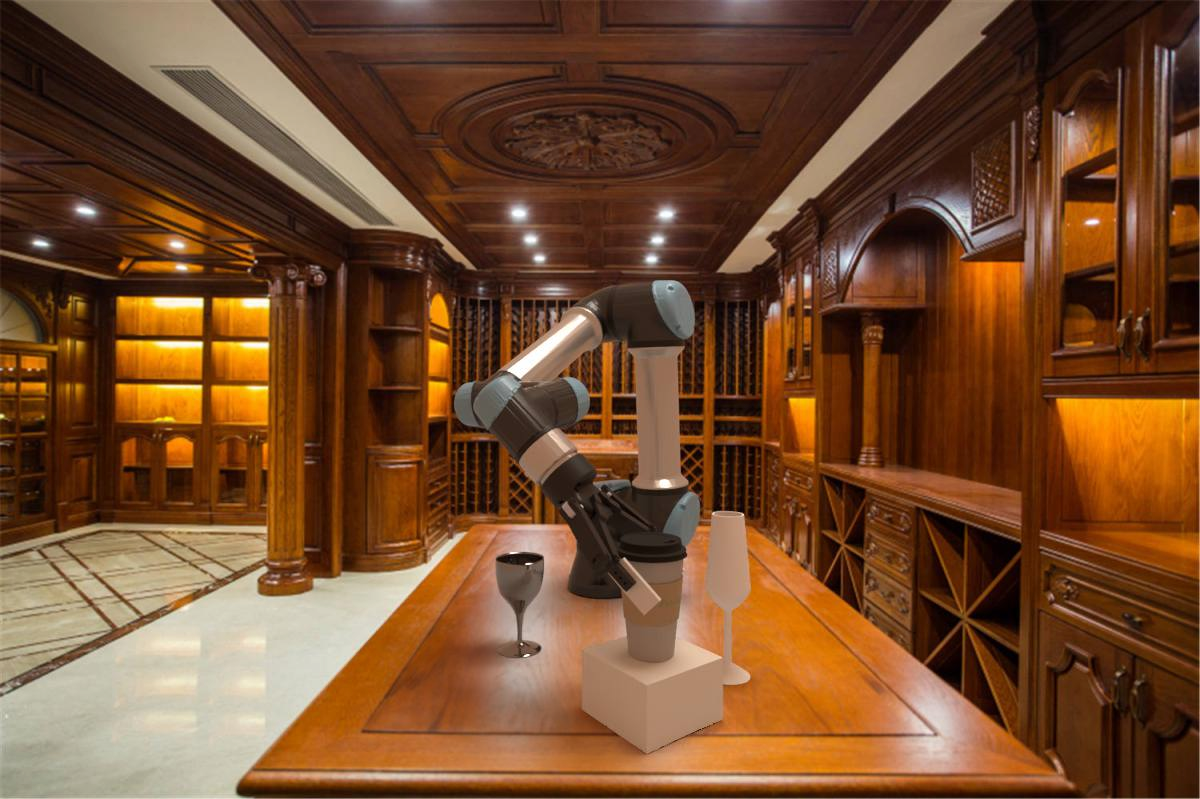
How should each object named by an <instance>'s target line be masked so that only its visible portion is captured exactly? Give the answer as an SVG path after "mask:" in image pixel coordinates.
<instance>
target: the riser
mask: <svg viewBox="0 0 1200 799" xmlns="http://www.w3.org/2000/svg"><path fill="white" fill-rule="evenodd" d="M723 661H724V656H723V657H722V656H720V655H719V654H716V653H713V652H712V651H709V650H707V649H705V648H702V647H700V646H698V645H696V644H694V643H691V642H689V641H686V640H684V639H682V638H680V637H677V636H676V639H675V648H674V655H673V657H672V658H670V659H669V660H667V661H664V662H659V663H649V662H643V661H639V660H636V659H634V658H632V657H631V656H630V655H629V651H628V642H627V635H626V636H623V637H619V638H615V639H612V640H609V641H606V642H603V643H598V644H595V645H592V646H589V647H586V648H582V649H581V710H582V711H583V712H585V713H586V714H587V715H589V716H591V717H592V718H593V719H595V720H597V721H598V722H599V723H600V724H602V725H603V726H605V727H606V726H607V727H606V728H608V729H610V730H611V731H612V732H614V733H615V734H617V735H618V736H619V737H621V738H622V739H623V740H625V741H626V742H628V743H629V744H631V745H632V746H634V747H635V746H636V748H637V749H639V750H640V751H641V750H642V751H641V752H643V753H644V754H646V755H648V753H649V754H650V752H651V751H653V752H655V751H657V750H659V748H660V747H662V746H664V747H666V746H668V745H670V744H669V743H671V742H673V741H675V740H677V739H679V738H681V737H683V736H685V735H688V734H690V733H692V732H694V731H696V730H698V729H701V730H703V729H702V728H704V727H706V728H708V727H710V726H713V725H714V724H713V723H715V724H717V723H719V722H721V721H723V720H724V684H723ZM716 722H717V723H716ZM709 725H710V726H709ZM707 726H708V727H707ZM704 729H705V728H704ZM690 735H691V734H690ZM688 736H689V735H688ZM679 740H680V739H679ZM677 741H678V740H677ZM675 742H676V741H675ZM673 743H674V742H673ZM667 744H668V745H667ZM671 744H672V743H671ZM665 745H666V746H665ZM662 748H663V747H662ZM660 749H661V748H660ZM654 750H655V751H654ZM651 753H652V752H651Z"/></svg>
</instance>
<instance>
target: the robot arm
mask: <svg viewBox="0 0 1200 799" xmlns="http://www.w3.org/2000/svg"><path fill="white" fill-rule="evenodd" d="M695 316H696V315H695V309H694V305H693V302H692V299H691V296H690V294H689V292H688V290H687V288H686V287H685V286H684V285H683V284H682V283H681V282H679V281H678V280H677V281H676V280H673V279H672V280H669V279H668V280H664V279H663V280H660V279H657V280H652V281H645V282H644V281H642V282H635V283H627V284H626V283H625V284H616V285H615V284H614V285H610V286H606V287H604V288H603V287H602V288H601V289H598V290H596V291H594V292H592V293H591V294H589V295H588V296H586V297H584V298H582V299H580V300H579V301H578V302H576V303H575V304H573V305H572V306H571V307H569V308H568V309H566V310H565V311H564V313H563V314H561V318H560V322H558V323H557V324H556V325H555V326H553V327H552V328H551V329H549V330H548V331H547V332H546V333H544V334H543V335H542V336H540V337H539V338H538V339H536V341H534V342H533V343H532V344H530V345H529V346H528V347H527V348H525V349H524V350H522V351H521V352H520V353H519V354H517V355H516V356H515V357H514V358H512V359H511V360H510V361H508V363H506V364H505V365H504V366H502V367H501V368H500V369H498V370H497V371H495V373H493V374H492V375H490V376H489V377H488V378H487V379H485V380H483V381H479V380H474V381H472V382H466V383H464V384H462V385H460V387H459V388H458V389H457V391H456V393H455V396H454V399H453V400H454V401H453V405H454V406H453V408H454V412H455V415H456V417H457V419H458V420H459V421H460V422H461V423H462V424H463V425H465V426H468V427H476V428H477V427H478V428H481V429H486V430H487V431H488V432H490V434H492V436H493V437H494V438H495V439H496V440H497V441H498V442H499V443H500V444H501V446H502V447H504V449H505V450H506V451H507V452H508V453H509V455H510V456H512V458H513V459H514V460H515V462H516V463H517V464H518V465H519V466H520V467H521V469H522V470H523V471H524V473H523V474H524V476H525V477H526V478H530V480H532V481H533V483H534V484H535V485H536V486H540V487H541V488H540V489H541V492H542V493H543V495H545V497H546V498H547V499H548V500H549V502H550V504H552V505H553V506H554V507H555V508H557V509H558V514H560V516H561V518H563V520H564V521H565V523H566V524H567V525H568V527H569V530H570V532H572V534H573V536H574V538H575V540H576V552H575V556H574V559H573V562H572V566H571V569H570V573H569V575H568V584H567V585H568V590H569V591H570V592H571V593H573V594H575V595H578V596H581V597H585V598H593V599H614V598H619V597H620V598H622V592H621V589H622V590H623V591H624V593H625V594H626V595H627V596H628V597H629V598H630V600H631V601H632V602H633V603H634V604H635V605H636V607H637V608H638V609H639V610H640V611H641V612H642V614H643V615H645V614H646V613H647V612H648V611H649V610H651V609H652V608H653V607H654V606H655V605H656V604H657V603H658V602H659V601H660V600H661V598H660V597H659V596H658V595H657V594H656V593H655V591H654V590H653V589H652V588H651V587H650V586H649V585H648V583H647V582H646V581H645V580H644V579H643V578H642V577H641V575H640V574H639V573H638V572H637V571H636V570H635V569H634V568H633V566H632V565H631V564H630V563H629V562H628V561H627V560H626V558H625V557H624V558H623V559H622V560H621V561H620V557H619V554H618V552H617V550H616V546H617V545H618V544H620V540H621V537H622V536H624V535H626V534H631V533H638V532H659V533H667V534H672V535H676V536H678V537H680V538H681V541H682V545H683V546H685V547H686V548H687V546H688V545H689V544H690V543H691V541H693V538H694V536H695V534H696V532H697V529H698V524H699V520H700V514H701V512H700V511H701V503H700V500H699V496H698V495H697V494H696V493H695V492H693V491H690V488H689V480H688V479H687V478H686V477H685V476H683V475H682V472H681V471H682V470H681V468H682V467H681V440H680V438H681V436H680V433H681V432H680V403H679V402H680V401H679V399H680V398H679V397H680V396H679V371H678V369H679V368H678V365H679V363H678V357H679V355H680V354H681V353H682V351H683V350H685V344H686V343H685V340H688V339H689V338H691V337H692V336H693V334H694V331H695V325H696V317H695ZM616 342H626V350H627V352H629V354H630V355H632V356H633V358H634V367H635V368H634V369H635V372H634V373H635V400H636V401H635V404H636V406H635V407H636V428H637V429H636V431H637V461H638V462H637V463H638V464H637V465H638V475H637V476H636V477H635V478H634V479H633V480H632V482H631V481H630V480H629V479H611V480H609V479H608V480H601V481H594V480H595V479H596V478H597V475H598V471H597V469H596V468H595V466H594V465H593V464H592V463H591V462H590V461H589V460H588V458H587V457H586V456H585V455H584V454H582V453H578V447H577V445H576V444H575V443H574V442H573V441H572V440H571V439H570V438H569V437H568V436H567V435H566V433H564V432H563V431H562V429H565V428H570V427H572V426H574V424H576V423H577V422H580V421H582V420H583V419H584V418H585V417H586V416H587V414H588V413H589V412H588V411H589V409H590V405H591V403H590V400H591V399H590V394H589V391H588V389H587V387H586V386H585V385H584V383H583V382H582V381H580V380H578V379H577V378H574V377H570V376H566V377H558V376H559V375H560V374H561V373H562V372H564V370H566V369H567V368H569V366H570V365H572V364H573V363H574V362H575V361H576V360H577V359H578V358H579V357H580V356H581V355H583V353H585V352H589V351H593V350H595V349H596V348H597V347H599V346H600V345H604V344H607V343H616ZM685 570H686V569H685V568H684V567H683V571H682V573H684V571H685Z"/></svg>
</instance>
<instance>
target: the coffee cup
mask: <svg viewBox="0 0 1200 799" xmlns="http://www.w3.org/2000/svg"><path fill="white" fill-rule="evenodd" d="M616 550H617V552H618V554H619V557H620V561H621V560H622V559H623V558H624V557H625V558H626V560H627V561H628V562H629V563H630V564H631V565H632V566H633V568H634V569H635V570H636V571H637V572H638V573H639V574H640V575H641V577H642V578H643V579H644V580H645V581H646V582H647V583H648V585H649V586H650V587H651V588H652V589H653V590H654V591H655V593H656V594H657V595H658V596H659V597H660V598H661V600H660V601H659V602H658V603H657V604H656V605H655V606H654V607H653V608H652V609H651V610H649V611H648V612H647V613H646V614H645V615H643V614H642V612H641V611H640V610H639V609H638V608H637V607H636V605H635V604H634V603H633V602H632V601H631V600H630V598H629V597H628V596H627V595H626V594H625V593H624V591H623V590H622V589H621V592H622V597H621V601H622V611H623V618H624V619H625V629H626V630H625V631H626V636H627V642H628V651H629V655H630V656H631V657H632V658H634V659H636V660H639V661H643V662H649V663H659V662H664V661H667V660H669V659H670V658H672V657H673V655H674V648H675V639H676V637H677V629H678V620H679V618H680V610H681V603H682V602H681V600H682V591H683V580H684V575H683V572H682V571H683V568H684V561H685V559H686V558H687V557H688V553H687V546H686V547H685V546H683V545H682V541H681V538H680V537H678V536H676V535H672V534H667V533H659V532H638V533H631V534H626V535H624V536H622V537H621V540H620V544H618V545H617V546H616Z"/></svg>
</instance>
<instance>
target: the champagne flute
mask: <svg viewBox="0 0 1200 799" xmlns="http://www.w3.org/2000/svg"><path fill="white" fill-rule="evenodd" d="M709 529H710V531H709V540H708V550H707V559H706V560H707V561H706V571H705V581H704V588H705V591H706V593H707V596H709V598H710V599H711V600H712V601H713V603H715V604H716V605H717V607H719V608H720V609H722V610H723V685H727V686H735V685H736V686H737V685H742V684H743V685H744V684H746V683H747V682H749V681H750V679H751V674H750V672H749V671H747V670H746V669H744V668H742V667H740V666H739V665H737V664H736V663H734V662H732V660H733V659H732V656H733V654H732V653H733V651H732V650H733V646H732V644H733V642H732V639H733V636H732V631H733V627H732V625H733V623H732V622H733V621H732V619H733V618H732V615H733V614H732V613H733V612H732V611H733V610H735V609H737V608H738V607H739V606H740V605H742V604H743V603H744V602H745V601H746V600H747V598H748V597H749V595H750V593H751V590H752V587H751V586H752V585H751V575H750V566H749V565H750V564H749V554H748V553H749V552H748V543H747V542H748V541H747V531H746V521H745V514H744V513H743V512H738V511H731V510H730V511H729V510H720V511H719V510H717V511H713V512H711V518H710V527H709Z"/></svg>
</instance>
